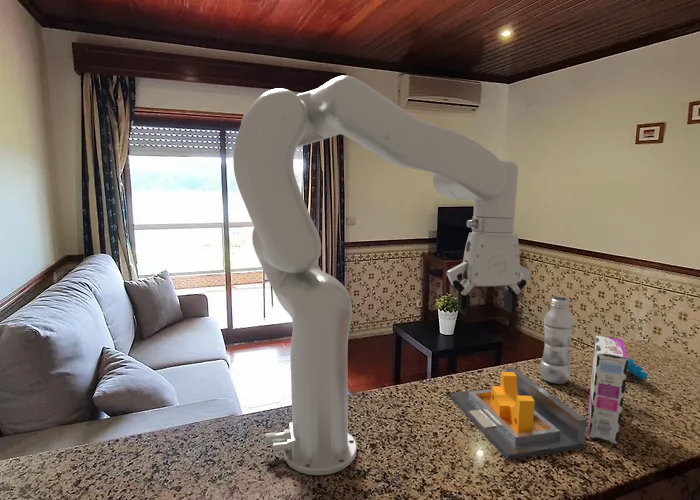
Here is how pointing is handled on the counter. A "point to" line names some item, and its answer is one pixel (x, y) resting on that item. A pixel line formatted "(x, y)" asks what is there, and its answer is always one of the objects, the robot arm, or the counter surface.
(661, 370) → the counter surface
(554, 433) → the grey tray with recess
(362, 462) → the counter surface
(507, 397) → the orange notched block
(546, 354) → the plastic bottle
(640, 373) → the gear
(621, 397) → the candy bar box
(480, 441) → the counter surface
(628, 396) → the counter surface
